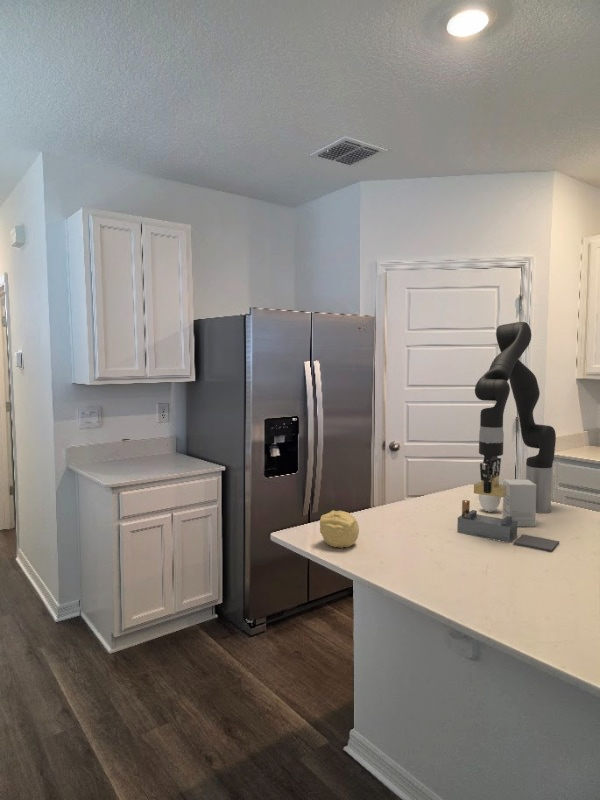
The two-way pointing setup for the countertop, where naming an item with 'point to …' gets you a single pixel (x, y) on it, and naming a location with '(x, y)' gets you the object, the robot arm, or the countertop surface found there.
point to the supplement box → (520, 501)
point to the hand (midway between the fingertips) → (490, 491)
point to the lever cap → (496, 488)
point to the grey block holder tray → (486, 525)
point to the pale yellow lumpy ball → (339, 529)
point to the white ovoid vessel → (489, 502)
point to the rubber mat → (536, 543)
